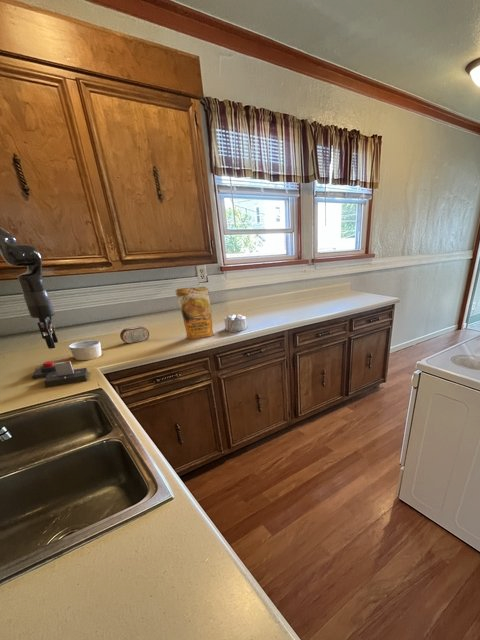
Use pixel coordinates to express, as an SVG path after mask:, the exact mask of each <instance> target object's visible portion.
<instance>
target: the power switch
mask: <svg viewBox="0 0 480 640" xmlns="http://www.w3.org/2000/svg"><path fill="white" fill-rule="evenodd" d="M53 372H56V369H55V366H52V367H47V368H46V367H44V365H43V364H42V365H41V366H39V367H38V368H35V370H34V371H33V373H32V375H31V377H32V380H39V379H45V378H46V376H47V374H48V373H53Z"/></svg>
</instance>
